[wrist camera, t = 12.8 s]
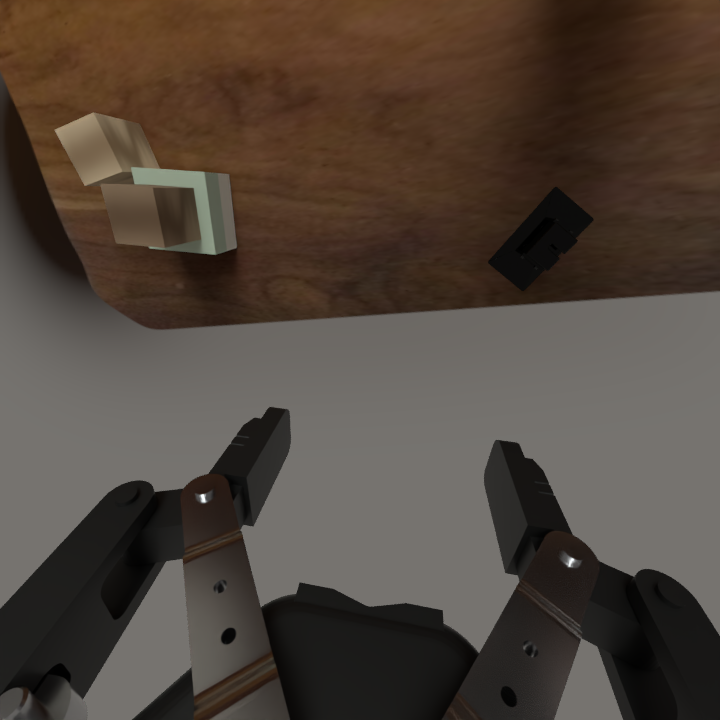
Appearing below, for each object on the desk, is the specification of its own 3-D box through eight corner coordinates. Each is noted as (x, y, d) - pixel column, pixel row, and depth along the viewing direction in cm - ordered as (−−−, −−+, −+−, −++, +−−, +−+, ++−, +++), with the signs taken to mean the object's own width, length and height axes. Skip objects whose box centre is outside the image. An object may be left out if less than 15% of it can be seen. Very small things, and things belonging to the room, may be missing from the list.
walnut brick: (148, 184, 34) (100, 183, 29) (193, 187, 34) (152, 187, 28) (159, 235, 36) (116, 243, 31) (201, 239, 36) (165, 247, 31)
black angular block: (516, 302, 40) (527, 316, 36) (470, 266, 39) (476, 276, 35) (609, 210, 34) (635, 213, 30) (558, 164, 33) (578, 161, 29)
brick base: (163, 169, 38) (130, 166, 34) (229, 174, 37) (204, 172, 33) (177, 242, 42) (149, 248, 37) (237, 247, 41) (215, 254, 37)
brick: (105, 138, 37) (54, 129, 32) (140, 123, 36) (93, 112, 31) (128, 186, 40) (84, 185, 34) (162, 174, 38) (122, 171, 33)
